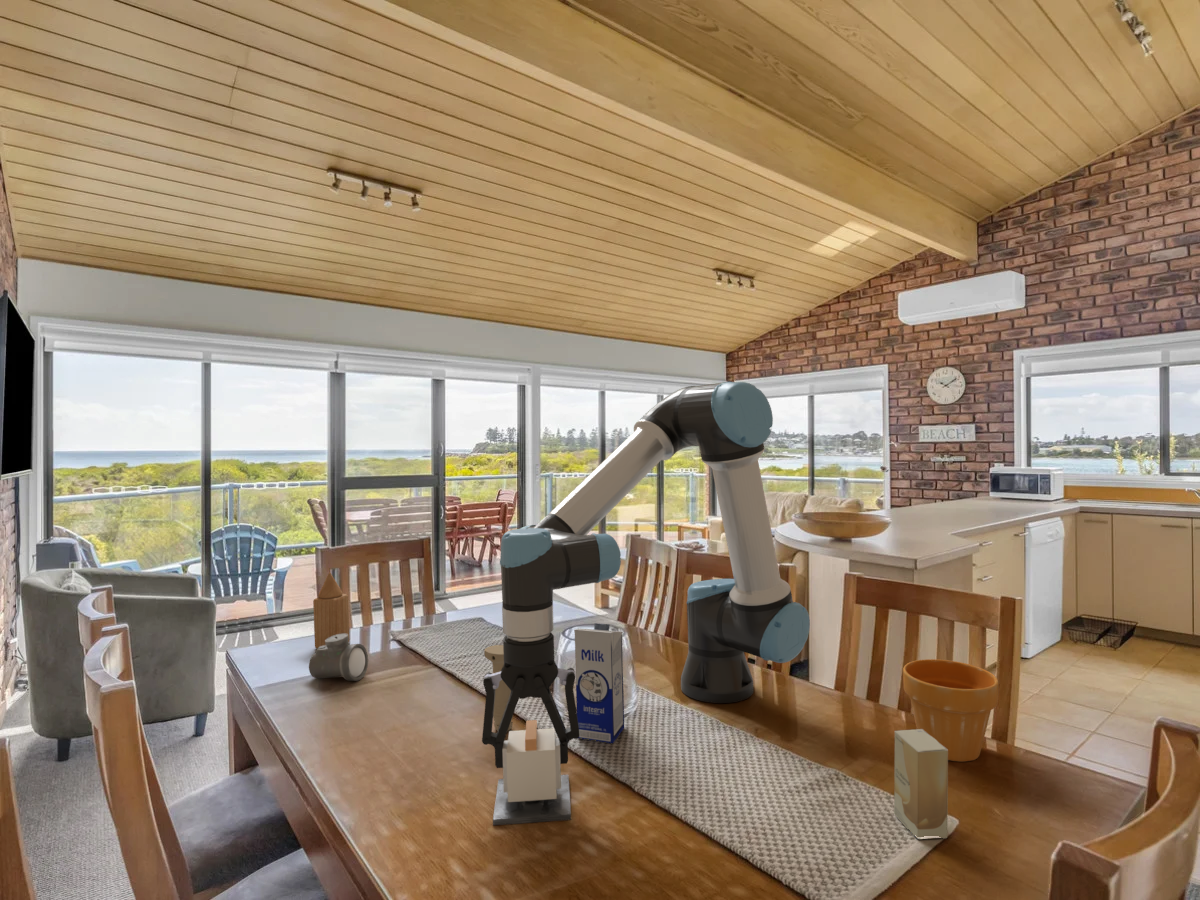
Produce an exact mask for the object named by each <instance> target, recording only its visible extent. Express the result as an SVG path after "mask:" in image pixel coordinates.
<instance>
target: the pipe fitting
mask: <svg viewBox="0 0 1200 900" xmlns="http://www.w3.org/2000/svg"><path fill="white" fill-rule="evenodd" d="M349 638H350V636H349V637H348V634H346V633H341V634H337V635H333V636H331V637H329V638H327V639H326V640H325V644H326V645H324V646H320V647H318V648H316V650H315V651H316V652H314V653H313V654H312V656H311V657H310V659H309V663H308V671H309V673H310V676H311V677H312V678H314V679H328V678H341V677H342V678H344V679H345V680H346V681H349V682H358V681H360V680H362V679H363V677H364V676H365V675H366V673H367V671H368V667H369V655H368V651H367V648H366V647H365V645H363V644H362V643H352V644H350V642H348V640H349ZM349 641H350V640H349Z"/></svg>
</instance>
